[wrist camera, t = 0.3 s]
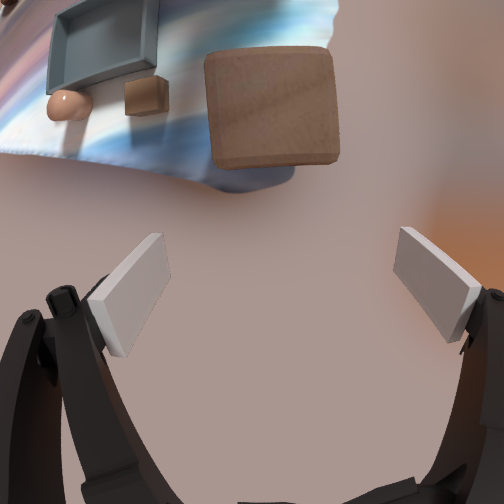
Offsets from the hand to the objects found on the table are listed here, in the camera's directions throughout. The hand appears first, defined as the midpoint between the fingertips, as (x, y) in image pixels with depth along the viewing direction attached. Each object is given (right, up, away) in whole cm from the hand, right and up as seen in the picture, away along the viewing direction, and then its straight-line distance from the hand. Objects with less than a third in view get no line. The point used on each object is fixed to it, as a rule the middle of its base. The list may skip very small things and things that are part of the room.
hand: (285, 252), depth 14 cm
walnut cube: (-17, +23, +20) cm, 35 cm away
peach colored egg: (-31, +25, +20) cm, 44 cm away
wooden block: (0, +19, +22) cm, 29 cm away
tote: (-26, +36, +15) cm, 47 cm away
